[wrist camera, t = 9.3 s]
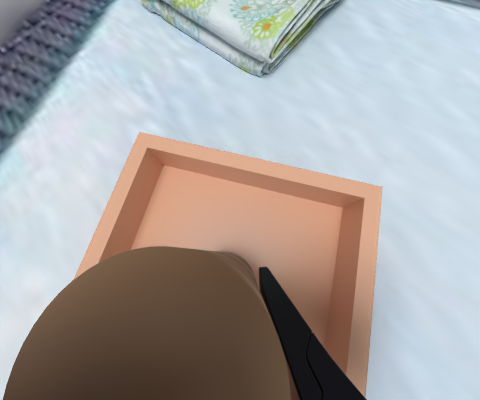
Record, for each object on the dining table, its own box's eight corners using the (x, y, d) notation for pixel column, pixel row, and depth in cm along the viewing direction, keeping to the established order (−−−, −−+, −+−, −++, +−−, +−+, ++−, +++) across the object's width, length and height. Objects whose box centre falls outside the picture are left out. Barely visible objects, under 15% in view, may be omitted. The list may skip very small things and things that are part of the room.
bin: (353, 200, 19) (382, 186, 15) (322, 465, 14) (352, 547, 10) (159, 154, 20) (139, 132, 17) (70, 376, 16) (12, 416, 12)
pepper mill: (269, 293, 15) (364, 445, 3) (213, 337, 14) (58, 753, 2) (231, 238, 16) (193, 193, 4) (177, 276, 16) (-44, 350, 4)
